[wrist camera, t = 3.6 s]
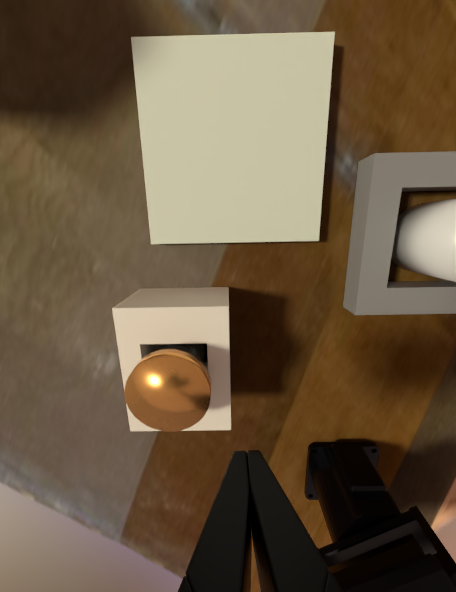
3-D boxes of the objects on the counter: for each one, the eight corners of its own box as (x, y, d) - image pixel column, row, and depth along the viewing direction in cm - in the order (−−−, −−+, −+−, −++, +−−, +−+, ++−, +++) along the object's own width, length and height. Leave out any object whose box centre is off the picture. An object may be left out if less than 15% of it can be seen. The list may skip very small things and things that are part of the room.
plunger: (216, 376, 20) (211, 431, 15) (156, 377, 20) (130, 432, 15) (214, 320, 19) (208, 357, 13) (150, 321, 19) (119, 358, 13)
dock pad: (314, 240, 19) (318, 241, 18) (155, 243, 19) (151, 244, 18) (328, 43, 16) (334, 31, 15) (136, 48, 16) (130, 36, 15)
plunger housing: (230, 385, 22) (231, 429, 17) (151, 386, 22) (130, 431, 17) (228, 287, 20) (228, 306, 15) (140, 288, 20) (112, 308, 15)
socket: (475, 304, 20) (501, 312, 18) (342, 306, 20) (355, 315, 18) (512, 158, 17) (548, 149, 15) (358, 161, 17) (374, 153, 15)
